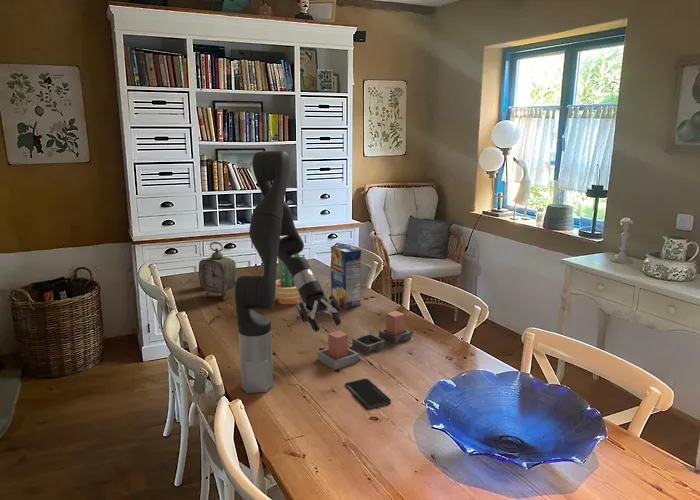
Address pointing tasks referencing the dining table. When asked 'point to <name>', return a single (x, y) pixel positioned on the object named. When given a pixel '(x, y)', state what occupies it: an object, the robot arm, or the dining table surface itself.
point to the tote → (339, 363)
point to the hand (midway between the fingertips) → (328, 327)
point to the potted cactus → (286, 285)
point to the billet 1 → (338, 345)
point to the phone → (367, 393)
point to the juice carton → (346, 275)
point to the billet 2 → (395, 323)
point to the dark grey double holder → (380, 341)
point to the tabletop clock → (217, 273)
